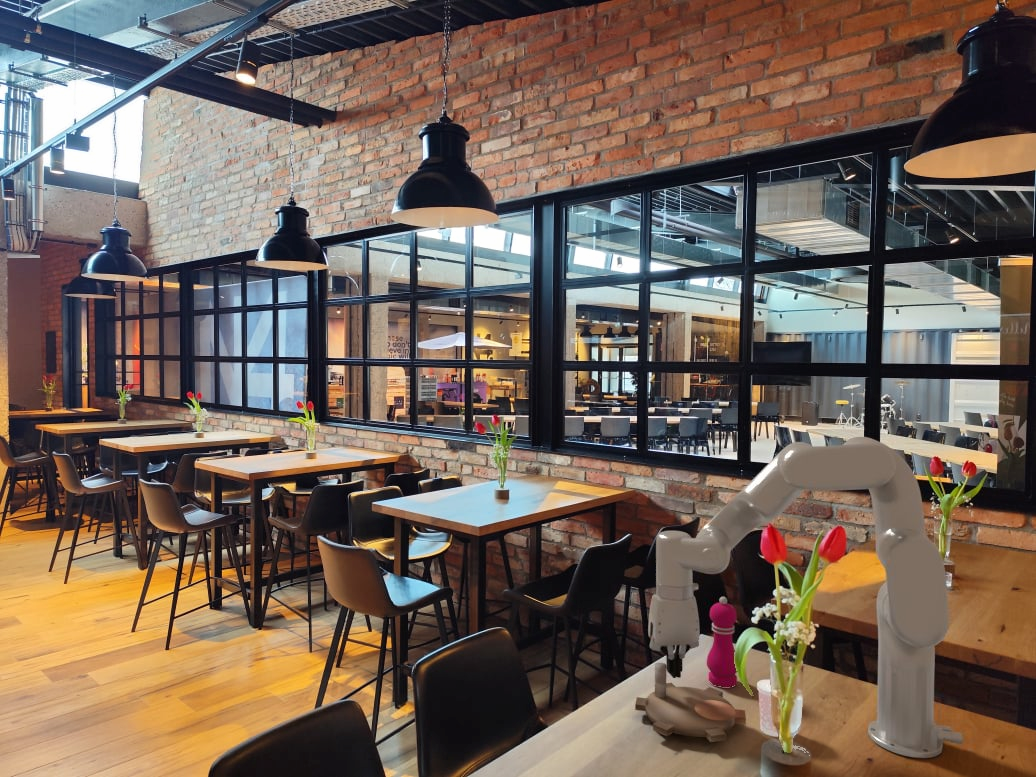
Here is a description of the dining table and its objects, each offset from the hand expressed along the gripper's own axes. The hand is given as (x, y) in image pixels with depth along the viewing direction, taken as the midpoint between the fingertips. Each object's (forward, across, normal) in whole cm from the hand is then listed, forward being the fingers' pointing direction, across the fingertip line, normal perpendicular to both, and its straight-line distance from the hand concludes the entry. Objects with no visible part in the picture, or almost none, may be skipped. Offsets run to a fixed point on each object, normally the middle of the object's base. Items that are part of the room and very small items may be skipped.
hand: (674, 674), depth 146 cm
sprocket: (+5, -1, +6) cm, 8 cm away
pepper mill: (+7, -15, -9) cm, 19 cm away
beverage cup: (+7, -16, +12) cm, 21 cm away
